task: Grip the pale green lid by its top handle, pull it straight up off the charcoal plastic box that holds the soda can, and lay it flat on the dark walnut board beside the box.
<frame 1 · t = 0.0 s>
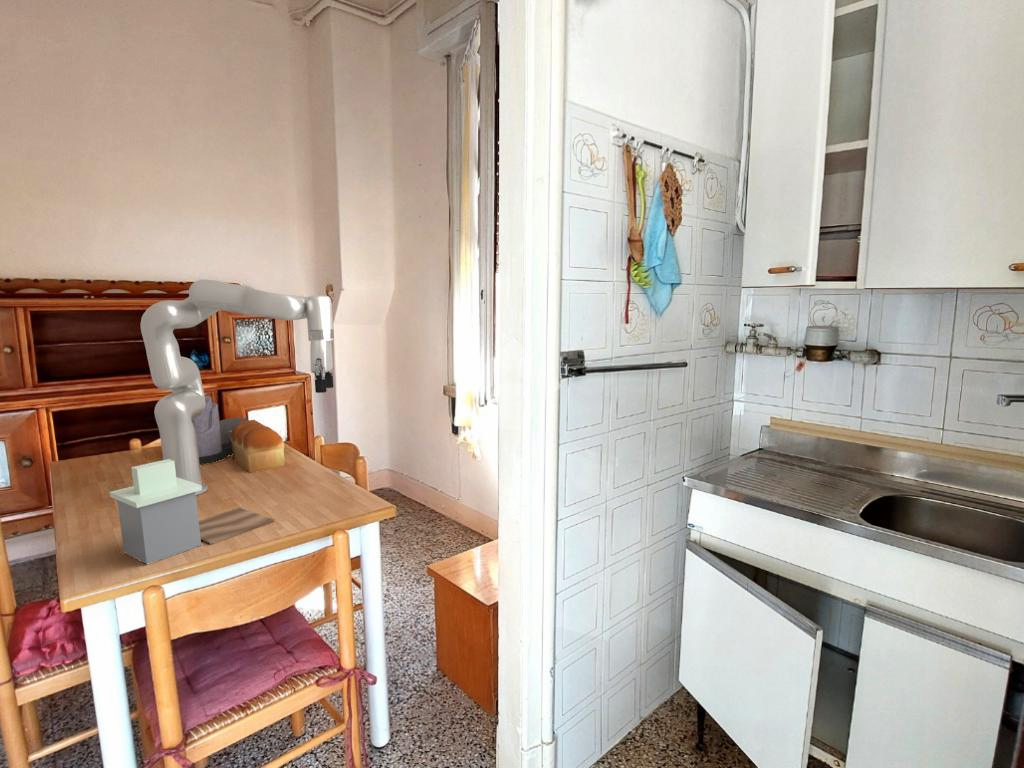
hand: (324, 390, 174), 31 cm above the table, tool pointing down, fingers open, 9 cm apart
soda can: (163, 550, 133), resting in storage box
walnut board: (226, 525, 146), on the table
juicer: (216, 456, 218), on the table
storage box: (163, 549, 133), on the table
bread: (258, 463, 207), on the table
box lid: (157, 497, 131), point 13 cm above the table, touching storage box
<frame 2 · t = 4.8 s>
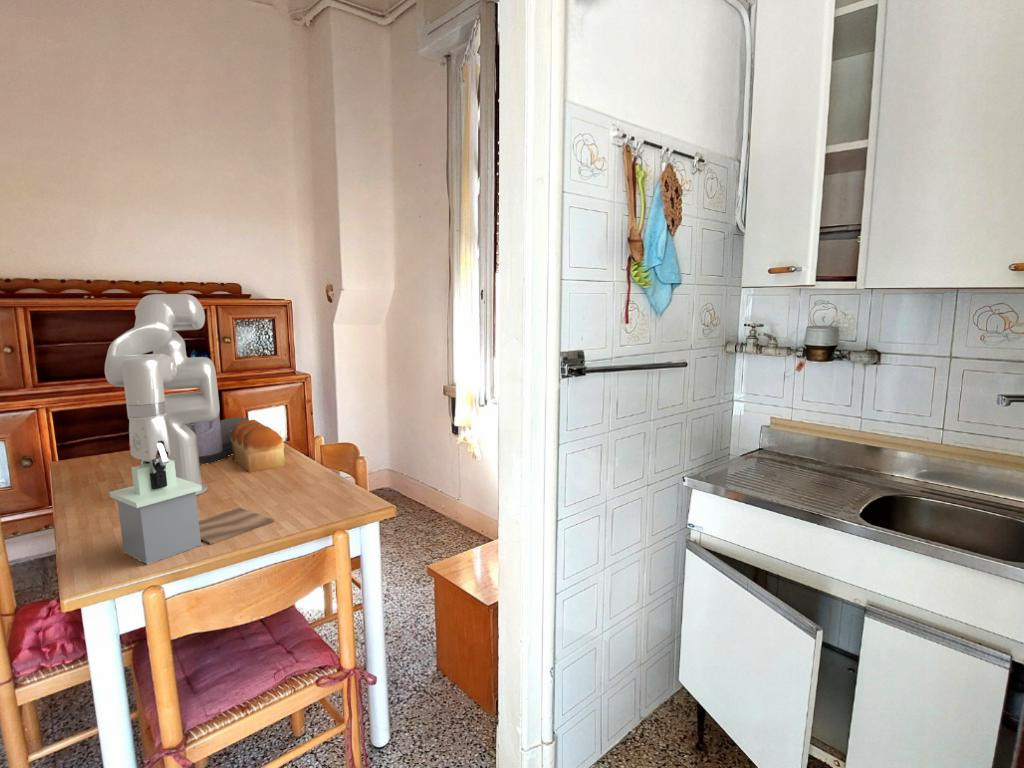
hand: (155, 486, 131), 16 cm above the table, tool pointing down, fingers closed on box lid, 3 cm apart
box lid: (157, 497, 131), point 13 cm above the table, touching gripper, storage box
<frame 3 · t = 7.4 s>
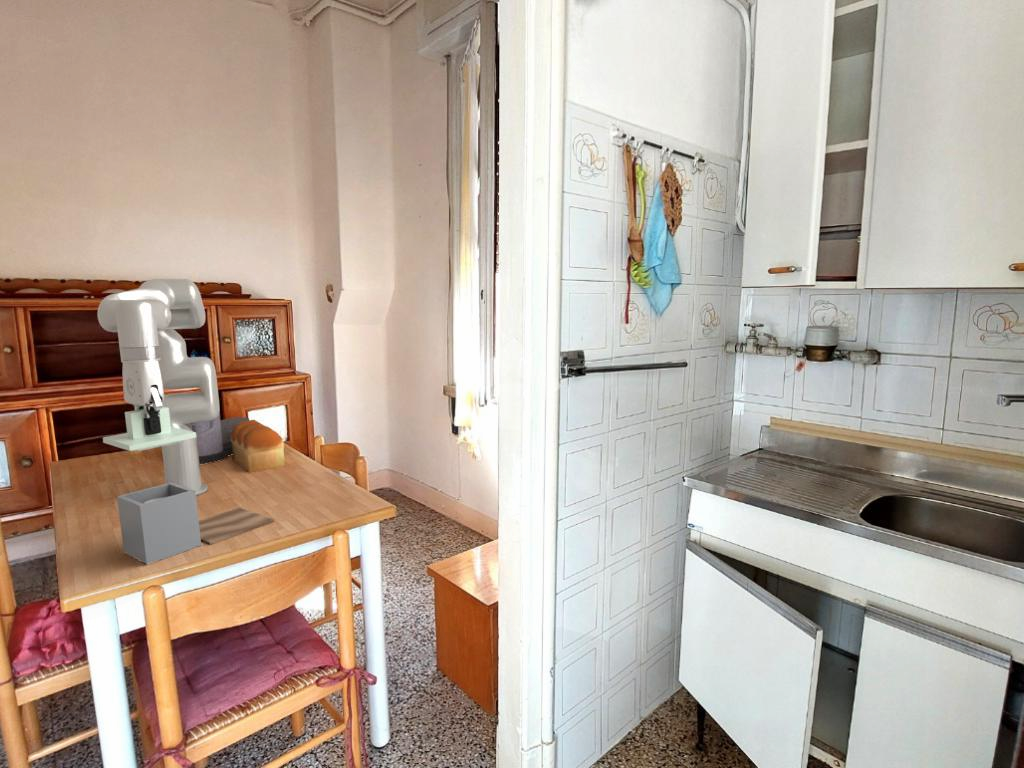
hand: (149, 432, 129), 29 cm above the table, tool pointing down, fingers closed on box lid, 3 cm apart
box lid: (151, 444, 129), point 26 cm above the table, touching gripper
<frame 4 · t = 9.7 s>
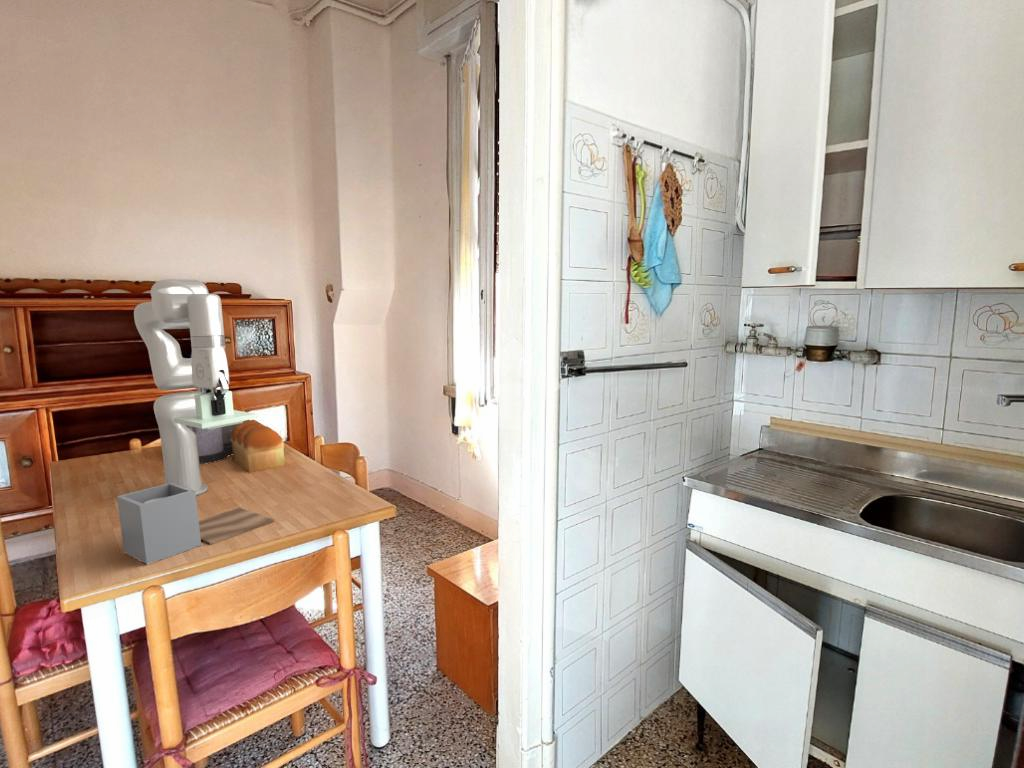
hand: (215, 413, 142), 30 cm above the table, tool pointing down, fingers closed on box lid, 3 cm apart
box lid: (216, 424, 142), point 28 cm above the table, touching gripper
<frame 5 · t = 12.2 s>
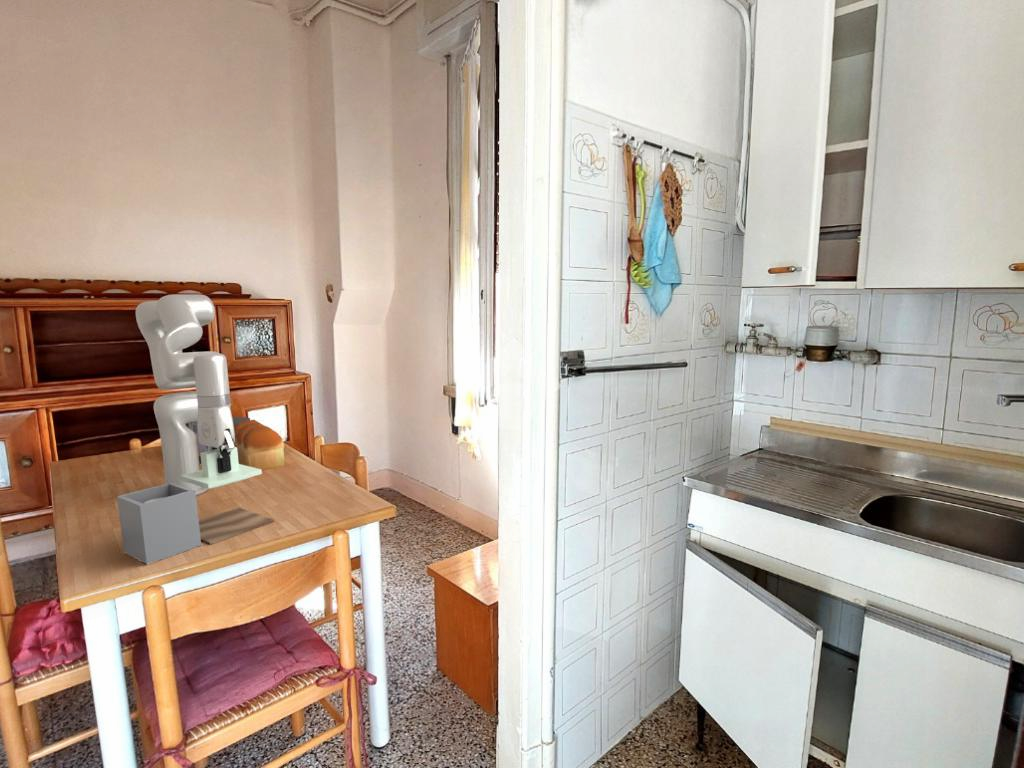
hand: (221, 470, 144), 15 cm above the table, tool pointing down, fingers closed on box lid, 3 cm apart
box lid: (222, 480, 144), point 13 cm above the table, touching gripper
when the fingers open (5 cm above the table, at t = 14.6 s): box lid drops 1 cm, resting on walnut board.
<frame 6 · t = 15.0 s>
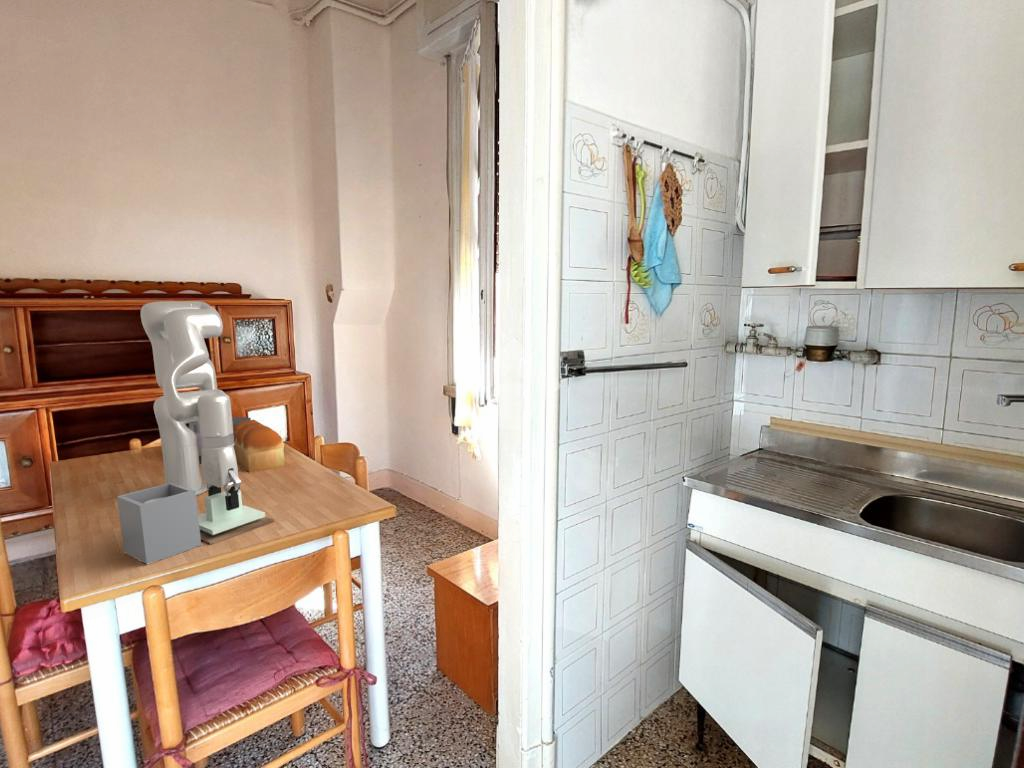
hand: (224, 505, 146), 6 cm above the table, tool pointing down, fingers open, 7 cm apart
box lid: (225, 523, 146), point 1 cm above the table, touching walnut board
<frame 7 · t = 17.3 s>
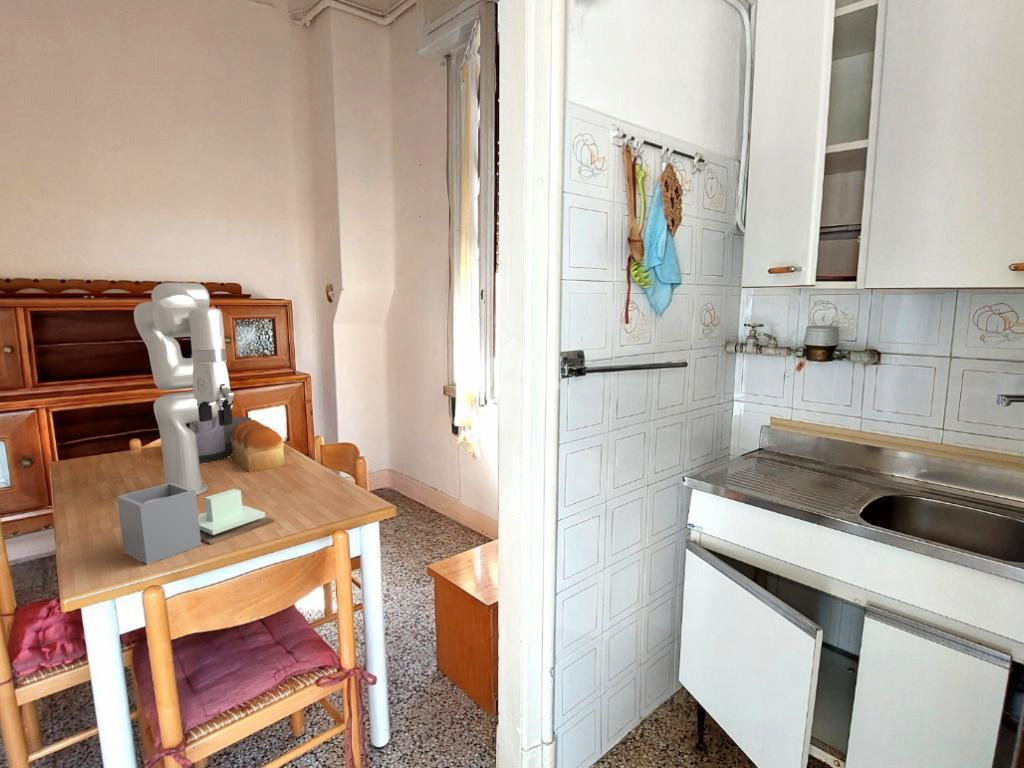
hand: (216, 422, 143), 28 cm above the table, tool pointing down, fingers open, 9 cm apart
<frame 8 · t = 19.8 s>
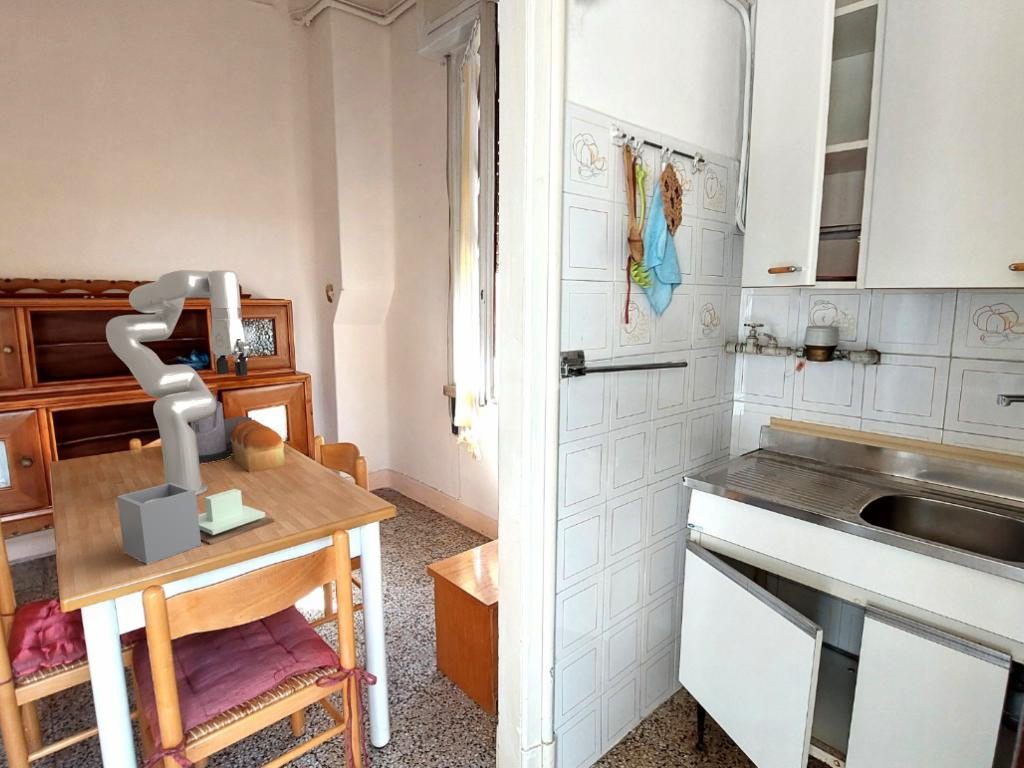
hand: (232, 374, 158), 38 cm above the table, tool pointing down, fingers open, 9 cm apart
at the end: box lid inside the target area on the walnut board (0.1 cm from its centre), point 0.6 cm above the walnut board's base; box lid tilted 0°; the gripper is holding nothing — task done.
